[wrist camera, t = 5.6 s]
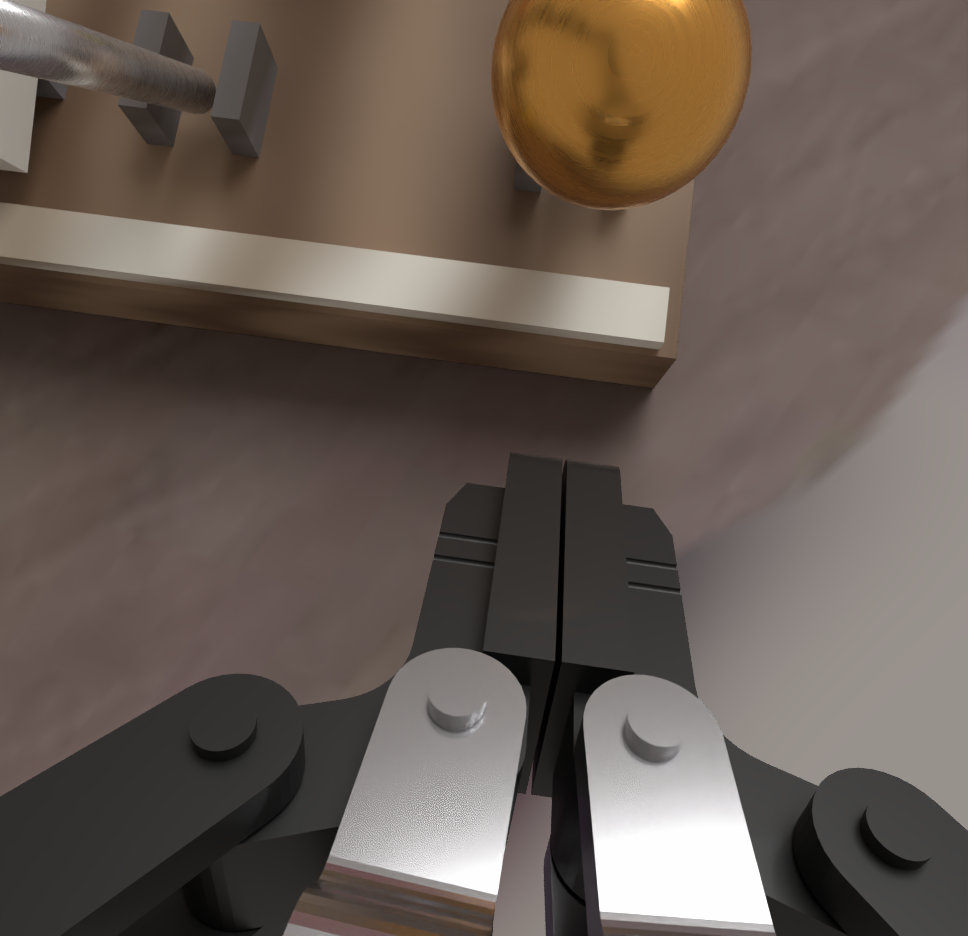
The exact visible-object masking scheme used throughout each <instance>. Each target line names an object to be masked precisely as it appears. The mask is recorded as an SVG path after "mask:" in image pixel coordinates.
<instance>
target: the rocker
mask: <svg viewBox="0 0 968 936" xmlns="http://www.w3.org/2000/svg"><path fill="white" fill-rule="evenodd" d="M11 1H14V2H17V3H20V4H23V5H25V6H28V7H31V8H34V9H36V10H39V11H42V12H45V10H46V0H11ZM37 82H38V78H35V77H31V76H26V75H22V74H17V73H13V72H9V71H4V70H0V170H7V171H15V172H23V173H28V164H29V155H30V146H31V137H32V128H33V119H34V110H35V101H36V91H37Z"/></svg>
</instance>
